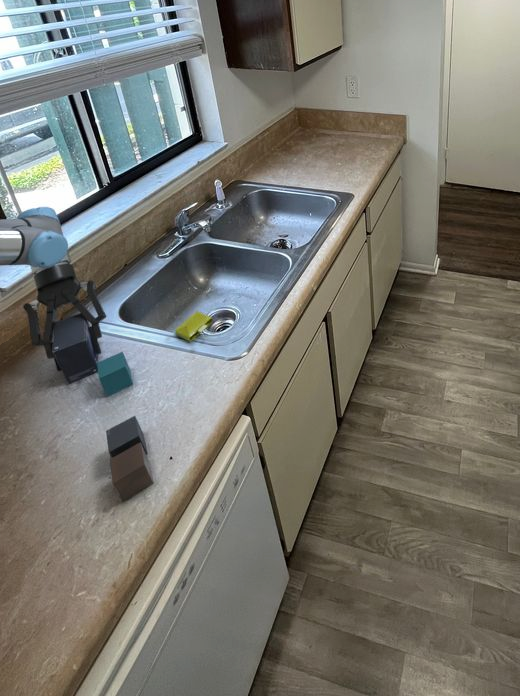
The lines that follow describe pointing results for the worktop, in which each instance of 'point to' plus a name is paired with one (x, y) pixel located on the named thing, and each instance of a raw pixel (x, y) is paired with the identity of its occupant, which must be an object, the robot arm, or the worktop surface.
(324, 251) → the worktop surface
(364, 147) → the worktop surface
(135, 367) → the worktop surface
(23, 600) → the worktop surface
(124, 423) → the charcoal block
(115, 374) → the teal block
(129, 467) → the walnut block
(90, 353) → the small box
